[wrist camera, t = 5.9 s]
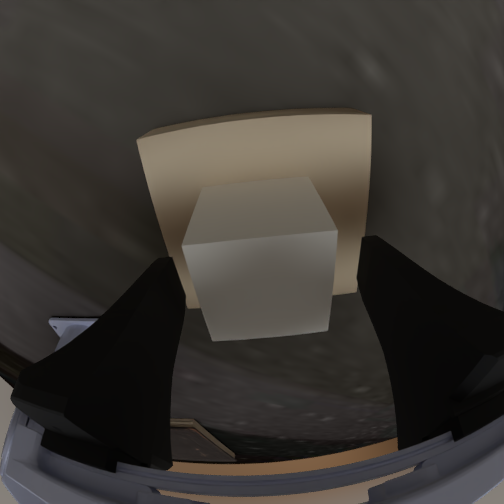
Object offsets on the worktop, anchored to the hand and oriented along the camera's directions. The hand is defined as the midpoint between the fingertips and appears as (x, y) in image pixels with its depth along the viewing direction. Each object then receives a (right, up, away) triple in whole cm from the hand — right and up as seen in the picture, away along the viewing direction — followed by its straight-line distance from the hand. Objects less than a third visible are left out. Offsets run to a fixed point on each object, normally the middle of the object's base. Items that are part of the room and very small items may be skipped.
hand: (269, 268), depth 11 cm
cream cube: (0, +2, +3) cm, 3 cm away
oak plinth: (0, +4, +5) cm, 6 cm away
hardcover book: (-14, -32, +30) cm, 46 cm away
